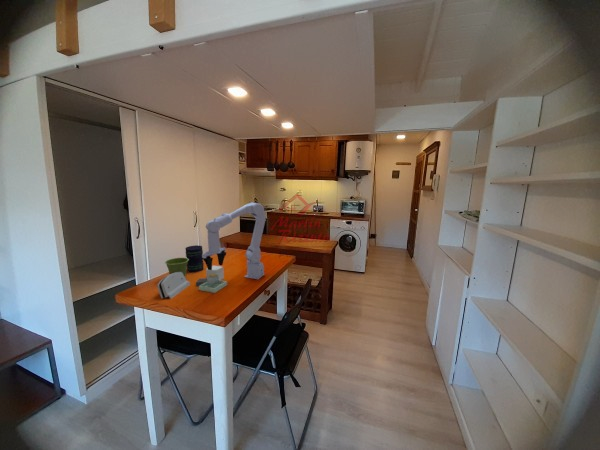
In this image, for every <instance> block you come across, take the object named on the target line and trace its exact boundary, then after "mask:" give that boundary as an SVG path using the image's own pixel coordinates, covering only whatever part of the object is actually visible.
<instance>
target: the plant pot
mask: <svg viewBox="0 0 600 450" xmlns="http://www.w3.org/2000/svg"><path fill="white" fill-rule="evenodd" d="M188 260H189V259H188V258H187V257H174V258H169V259H167V260H166V261H165V262H164V264H165V265H166V267H167V269H168V273H169V274H172V273H176V272H182V273H183V275H184V277H185V278H186V276H187V263H188ZM169 274H168V275H169Z"/></svg>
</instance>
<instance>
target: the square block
mask: <svg viewBox="0 0 600 450" xmlns="http://www.w3.org/2000/svg"><path fill="white" fill-rule="evenodd" d="M205 282H207V278H206V277H204V278H203V277H202V278H198V280H196V281H195V287H199V286H200V285H202V284H204V283H205Z"/></svg>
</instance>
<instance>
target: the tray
mask: <svg viewBox="0 0 600 450" xmlns="http://www.w3.org/2000/svg"><path fill="white" fill-rule="evenodd" d="M226 286H228V281H227V280H223V279H222V280H219V286H217V287H215V288H210V287H208V285H207V282H205V283H204V284H202V285H200V286H198V290H199V291H203V292H207V293H213V294H216V293H218V292H219V291H220V290H222V289H223V288H225V287H226Z"/></svg>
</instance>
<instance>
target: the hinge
mask: <svg viewBox="0 0 600 450" xmlns="http://www.w3.org/2000/svg"><path fill="white" fill-rule="evenodd" d="M190 285H191V282H190V281H189V280H187V278H186V277H184V275H183V273H182V272H176V273H172V274H167V275H166V276H165V277H163V278H162V279H161V280H159V282H158V283H157V285H156V288H157V290H158V293H159V296H160V298H161V299H165V298H169V299H170V300H171V299H173V298H174V297H175V296H177V295H179V294H180V293H181V292H182V291H183V290H185V289H187V288H189V286H190Z"/></svg>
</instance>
